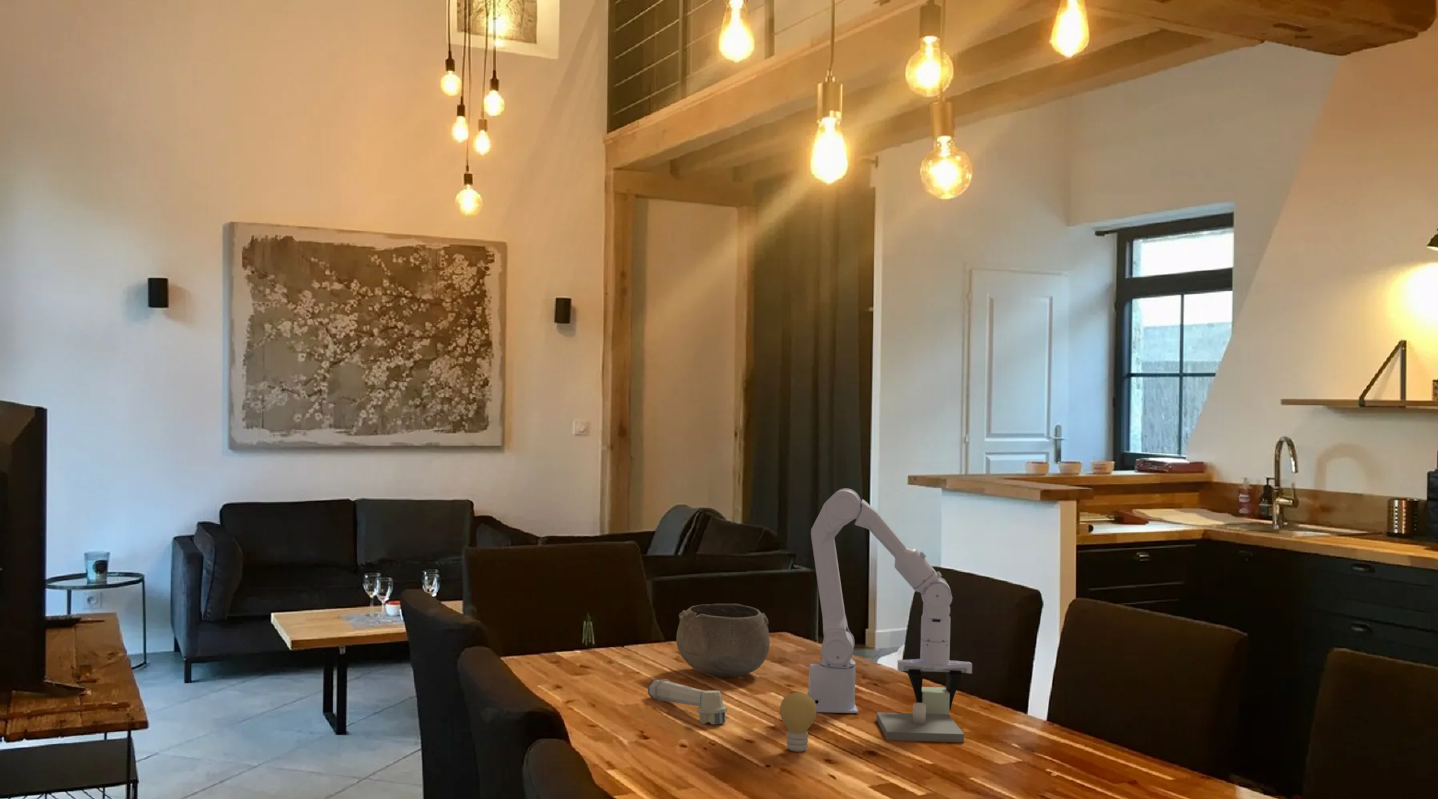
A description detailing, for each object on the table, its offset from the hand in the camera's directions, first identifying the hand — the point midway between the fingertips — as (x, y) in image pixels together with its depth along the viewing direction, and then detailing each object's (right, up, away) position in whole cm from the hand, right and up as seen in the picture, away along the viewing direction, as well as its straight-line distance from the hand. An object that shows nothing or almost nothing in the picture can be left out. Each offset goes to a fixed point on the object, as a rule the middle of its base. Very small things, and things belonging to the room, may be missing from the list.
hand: (933, 708), depth 228 cm
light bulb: (-29, 0, -27) cm, 40 cm away
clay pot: (-42, -1, +31) cm, 52 cm away
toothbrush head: (-49, 0, -2) cm, 49 cm away
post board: (-5, -1, -12) cm, 13 cm away
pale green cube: (0, -1, 0) cm, 1 cm away
